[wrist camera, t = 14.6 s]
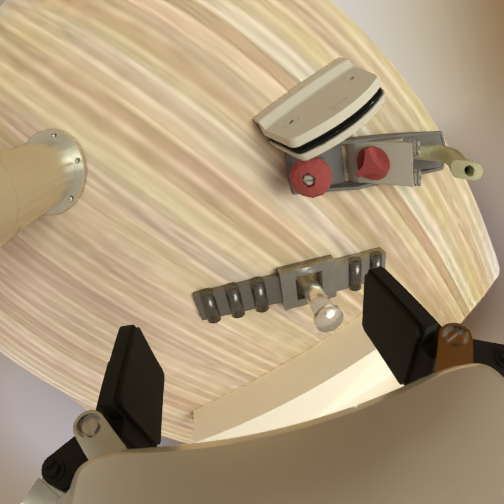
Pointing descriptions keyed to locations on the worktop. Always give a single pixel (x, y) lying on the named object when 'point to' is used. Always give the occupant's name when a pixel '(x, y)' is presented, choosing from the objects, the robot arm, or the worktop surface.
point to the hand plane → (378, 163)
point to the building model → (301, 388)
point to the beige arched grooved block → (322, 110)
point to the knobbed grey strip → (287, 285)
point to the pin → (320, 304)
